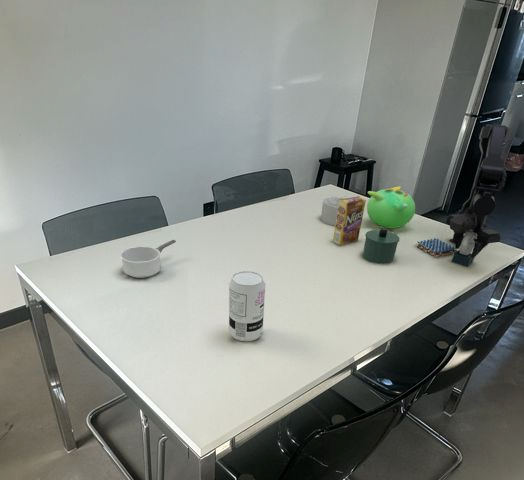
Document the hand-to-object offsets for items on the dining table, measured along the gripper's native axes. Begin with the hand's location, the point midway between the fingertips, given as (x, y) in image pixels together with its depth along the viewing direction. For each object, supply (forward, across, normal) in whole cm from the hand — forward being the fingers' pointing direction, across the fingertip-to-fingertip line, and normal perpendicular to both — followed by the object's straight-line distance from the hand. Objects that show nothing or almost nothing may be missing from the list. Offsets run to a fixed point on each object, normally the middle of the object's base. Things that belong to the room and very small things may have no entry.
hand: (464, 253), depth 152 cm
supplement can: (+4, +20, -84) cm, 86 cm away
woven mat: (+4, -11, -2) cm, 12 cm away
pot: (+3, -11, -26) cm, 28 cm away
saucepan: (+4, -23, -99) cm, 102 cm away
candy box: (+4, -26, -30) cm, 40 cm away
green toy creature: (+4, -36, -6) cm, 37 cm away
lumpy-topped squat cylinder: (+4, -46, -23) cm, 51 cm away
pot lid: (-4, -11, -26) cm, 28 cm away
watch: (+4, 0, 0) cm, 4 cm away
